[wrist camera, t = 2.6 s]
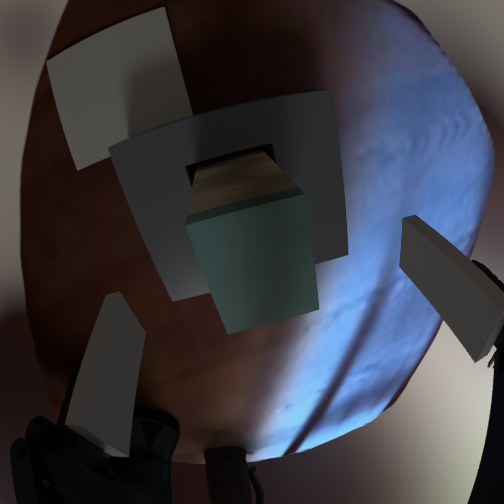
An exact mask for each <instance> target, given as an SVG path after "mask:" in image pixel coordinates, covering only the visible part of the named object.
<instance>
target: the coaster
mask: <svg viewBox="0 0 504 504" xmlns="http://www.w3.org/2000/svg"><path fill="white" fill-rule="evenodd" d="M46 63H47V68H48V72H49V77H50V81H51V86H52V90H53V94H54V98H55V102H56V105H57V109H58V113H59V116H60V120H61V123H62V126H63V130H64V133H65V136H66V139H67V142H68V145H69V148H70V151H71V154H72V157H73V160H74V162H75V165H76V168H77V171H78V170H80V169H82V168H84V167H86V166H89V165H91V164H93V163H95V162H98V161H100V160H102V159H104V158H107V157H109V156H110V153H109V150H108V147H110V146H112V145H114V144H116V143H118V142H120V141H122V140H124V139H126V138H128V137H130V136H133V135H136V134H138V133H141V132H143V131H146V130H149V129H152V128H155V127H157V126H160V125H163V124H166V123H169V122H172V121H175V120H179V119H182V118H185V117H188V116H192V115H193V112H192V108H191V104H190V101H189V97H188V94H187V90H186V86H185V82H184V79H183V75H182V71H181V68H180V64H179V60H178V56H177V52H176V49H175V45H174V41H173V37H172V33H171V29H170V25H169V22H168V18H167V14H166V10H165V7H162V8H159V9H156V10H153V11H150V12H147V13H144V14H141V15H139V16H136V17H133V18H131V19H128V20H126V21H123V22H121V23H119V24H116V25H114V26H112V27H109V28H107V29H105V30H103V31H101V32H99V33H97V34H94V35H92V36H90V37H88V38H87V39H85V40H83V41H81V42H79V43H77V44H75V45H73V46H72V47H70V48H68V49H66V50H65V51H63V52H61V53H60V54H58V55H56V56H55V57H53V58H51V59H50V60H48V61H47V62H46Z"/></svg>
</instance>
